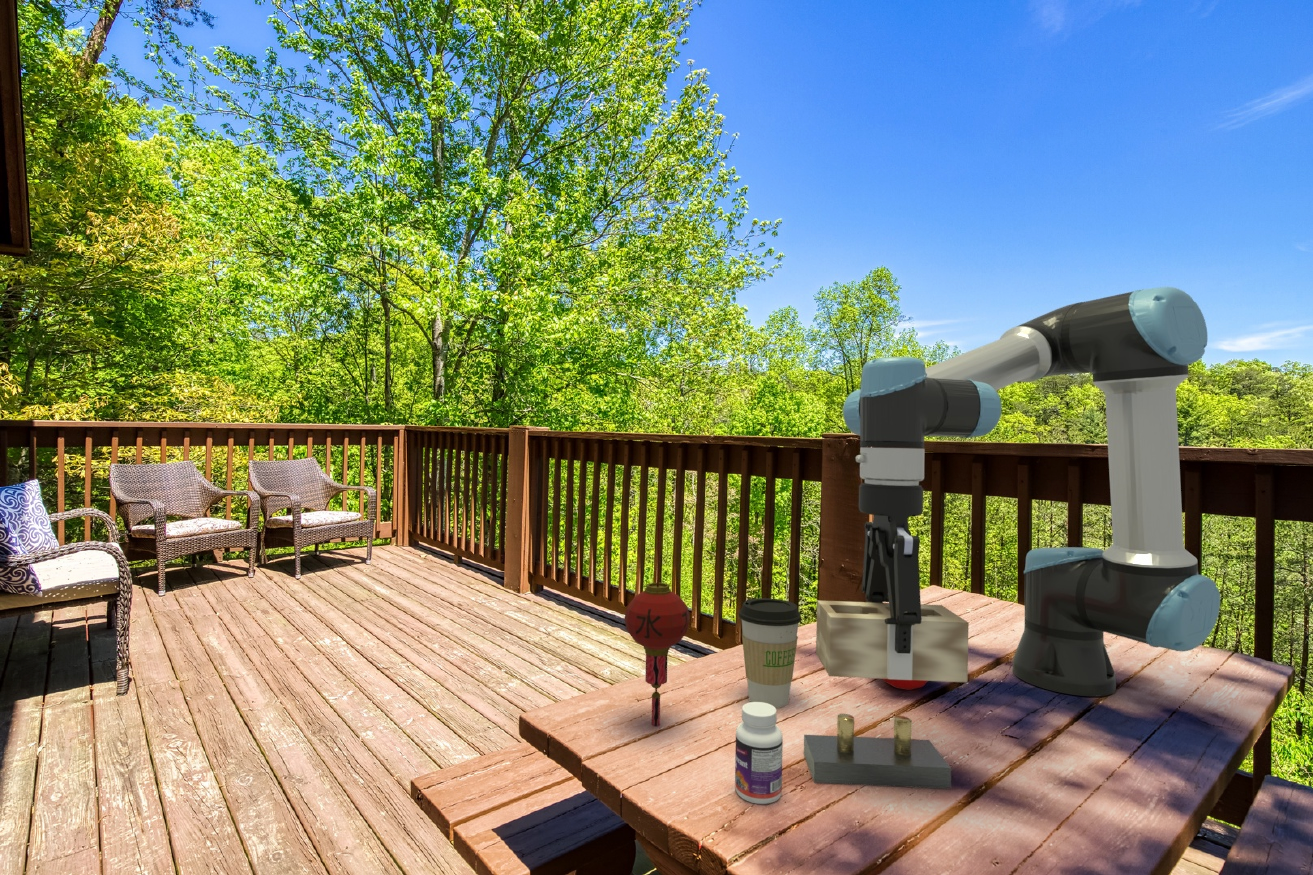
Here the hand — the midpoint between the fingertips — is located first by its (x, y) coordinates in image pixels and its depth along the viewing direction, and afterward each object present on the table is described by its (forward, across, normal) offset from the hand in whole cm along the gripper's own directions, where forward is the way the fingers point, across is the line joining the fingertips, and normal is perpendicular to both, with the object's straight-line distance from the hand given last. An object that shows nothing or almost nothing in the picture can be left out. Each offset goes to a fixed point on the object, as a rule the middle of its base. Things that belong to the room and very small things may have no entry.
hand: (887, 664), depth 78 cm
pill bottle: (+14, +6, -16) cm, 22 cm away
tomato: (+13, -29, +12) cm, 34 cm away
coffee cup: (+13, -21, -12) cm, 27 cm away
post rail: (+13, 0, -1) cm, 13 cm away
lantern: (+14, -10, -29) cm, 34 cm away
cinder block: (0, 0, 0) cm, 0 cm away
